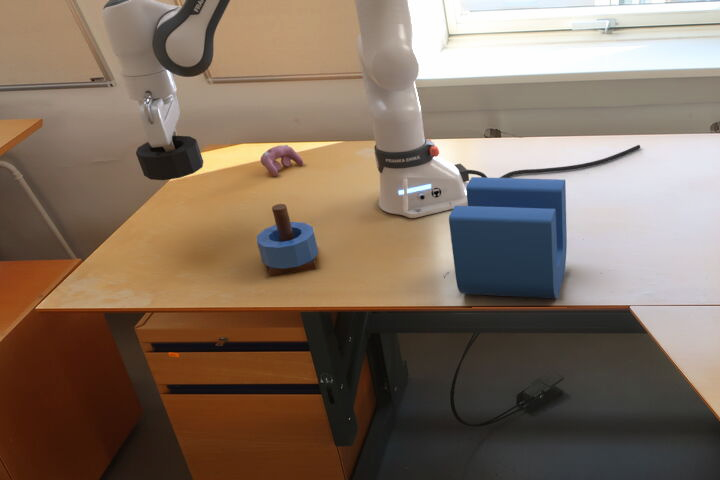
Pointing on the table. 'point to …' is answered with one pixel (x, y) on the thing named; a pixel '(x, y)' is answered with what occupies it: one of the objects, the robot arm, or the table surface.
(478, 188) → the block
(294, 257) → the blue tape
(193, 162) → the ring
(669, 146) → the table surface
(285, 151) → the video game controller
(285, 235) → the wooden stand
